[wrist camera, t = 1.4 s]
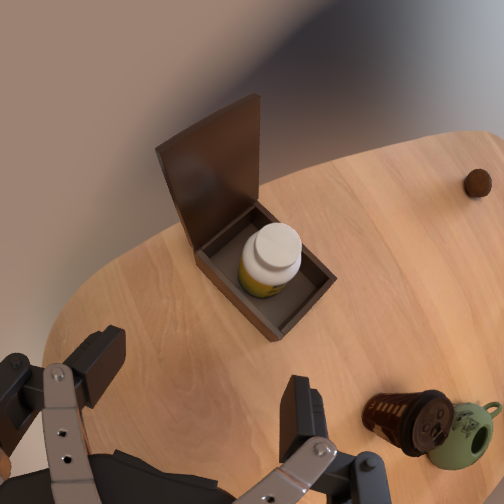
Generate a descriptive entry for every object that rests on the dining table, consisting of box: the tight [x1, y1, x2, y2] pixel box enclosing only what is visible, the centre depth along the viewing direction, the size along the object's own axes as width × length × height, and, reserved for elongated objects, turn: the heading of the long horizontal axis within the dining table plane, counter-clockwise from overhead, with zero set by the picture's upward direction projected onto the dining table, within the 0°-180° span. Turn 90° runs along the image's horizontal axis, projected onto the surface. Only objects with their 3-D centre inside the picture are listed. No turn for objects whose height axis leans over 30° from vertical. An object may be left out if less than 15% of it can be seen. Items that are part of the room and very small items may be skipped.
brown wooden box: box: [193, 200, 337, 342], centre depth 37 cm, size 15×11×6 cm
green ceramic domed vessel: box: [429, 402, 502, 470], centre depth 29 cm, size 16×13×9 cm
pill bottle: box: [238, 223, 302, 298], centre depth 33 cm, size 6×6×12 cm
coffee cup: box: [362, 390, 455, 457], centre depth 28 cm, size 9×8×13 cm
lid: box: [155, 93, 260, 250], centre depth 28 cm, size 16×11×1 cm
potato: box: [465, 169, 492, 197], centre depth 50 cm, size 7×10×7 cm
